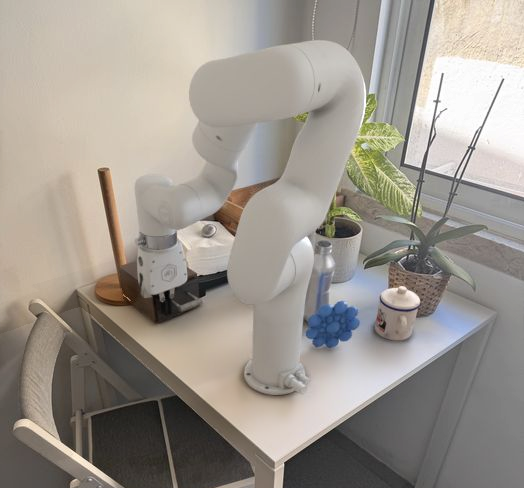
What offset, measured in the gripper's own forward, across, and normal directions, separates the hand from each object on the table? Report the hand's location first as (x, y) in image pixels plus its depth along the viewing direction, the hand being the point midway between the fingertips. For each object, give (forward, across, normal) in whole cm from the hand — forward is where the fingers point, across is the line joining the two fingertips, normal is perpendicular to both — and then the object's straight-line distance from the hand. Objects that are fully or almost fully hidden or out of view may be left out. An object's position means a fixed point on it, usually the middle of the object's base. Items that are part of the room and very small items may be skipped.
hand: (165, 312), depth 116 cm
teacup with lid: (+4, +39, -36) cm, 53 cm away
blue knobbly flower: (+4, +24, -29) cm, 38 cm away
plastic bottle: (+4, +29, -20) cm, 36 cm away
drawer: (+3, +5, +6) cm, 8 cm away
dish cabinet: (+4, +5, +10) cm, 12 cm away
